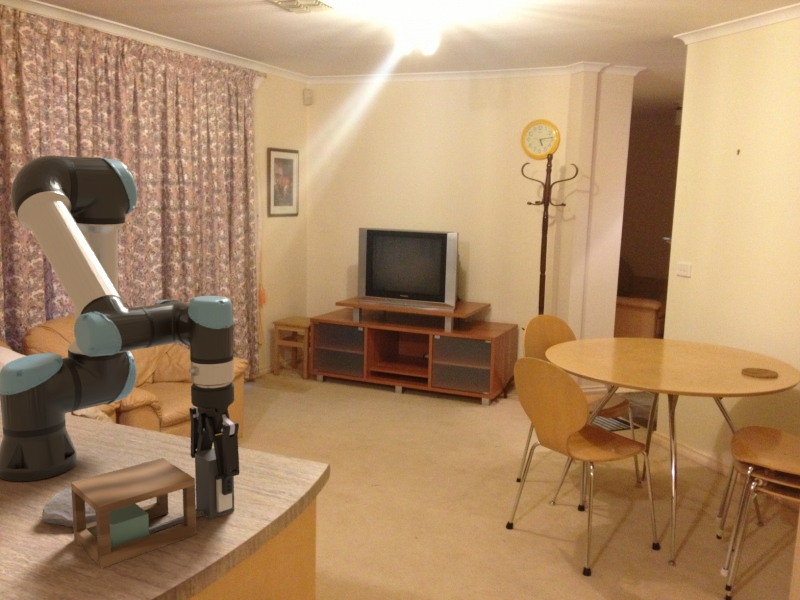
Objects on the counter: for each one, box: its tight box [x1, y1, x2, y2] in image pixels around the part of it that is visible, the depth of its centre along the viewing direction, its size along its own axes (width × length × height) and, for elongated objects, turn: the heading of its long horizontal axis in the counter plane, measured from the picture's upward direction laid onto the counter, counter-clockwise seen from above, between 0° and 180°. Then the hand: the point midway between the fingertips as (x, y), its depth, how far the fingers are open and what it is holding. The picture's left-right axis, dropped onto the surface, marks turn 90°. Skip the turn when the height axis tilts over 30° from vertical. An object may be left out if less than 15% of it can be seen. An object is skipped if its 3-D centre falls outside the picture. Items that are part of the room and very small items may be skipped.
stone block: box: [41, 487, 96, 528], centre depth 124 cm, size 12×5×10 cm
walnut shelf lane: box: [70, 457, 197, 569], centre depth 117 cm, size 12×16×10 cm
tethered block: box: [109, 447, 235, 548], centre depth 121 cm, size 6×22×11 cm, turn 134°
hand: (215, 502), depth 128 cm, fingers open, 6 cm apart
